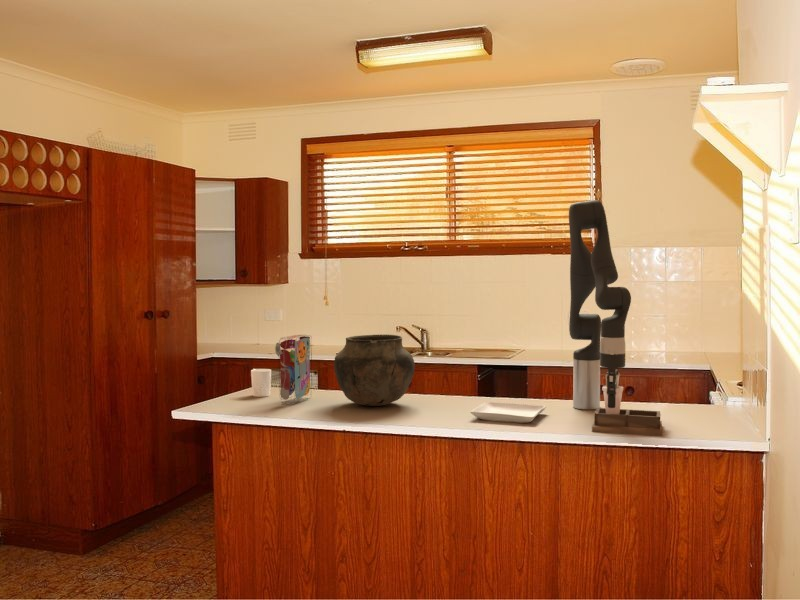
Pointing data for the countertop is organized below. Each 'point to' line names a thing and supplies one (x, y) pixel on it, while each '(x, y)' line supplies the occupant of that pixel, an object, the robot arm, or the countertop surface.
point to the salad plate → (507, 412)
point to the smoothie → (617, 400)
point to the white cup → (261, 382)
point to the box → (299, 375)
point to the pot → (374, 369)
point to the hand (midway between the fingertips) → (612, 405)
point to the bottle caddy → (628, 422)
